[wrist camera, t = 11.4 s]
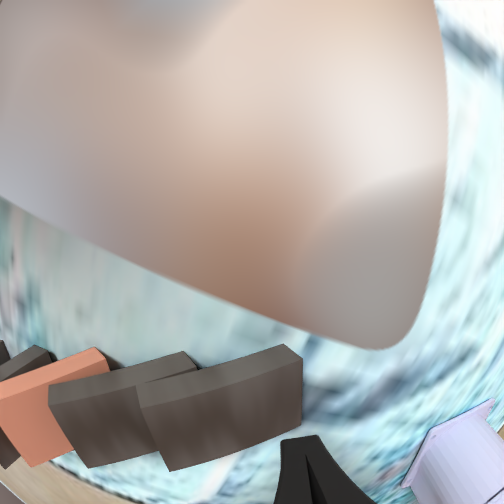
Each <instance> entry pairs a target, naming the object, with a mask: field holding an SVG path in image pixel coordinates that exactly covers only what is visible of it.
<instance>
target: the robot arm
mask: <svg viewBox="0 0 504 504" xmlns="http://www.w3.org/2000/svg"><path fill="white" fill-rule="evenodd" d="M494 403H495V399H494V398H491V399H489V400H487V401H486V402H484V403H482V404H480V405H479V406H477V407H475V408H473V409H471V410H469V411H467V412H465V413H463V414H461V415H459V416H457V417H455V418H453V419H451V420H449V421H447V422H444V423H442V424H440V425H438V426H435V427H433V428H432V429H431V430H430V431H429V432H428V434H427V436H426V438H425V441H424V443H423V445H422V447H421V449H420V451H419V453H418V455H417V457H416V459H415V460H414V462H413V464H412V466H411V468H410V470H409V471H408V473H407V475H406V477H405V478H404V480H403V482H402V483H401V485H400V486H401V488H405V487H408V486H410V487H411V489H412V491H413V493H414V494H415V496H416V498H417V500H418V502H419V504H504V440H503V439H502V438H501V437H500V436H499V435H498V434H497V433H496V431H495V430H494V429H493V428H492V427H491V426H490V425H489V424H488V423H487V421H486V419H487V417H488V415H489V413H490V411H491V409H492V407H493V405H494ZM280 449H281V471H280V477H279V483H278V488H277V492H276V496H275V500H274V503H273V504H377V503H375V502H374V501H373V500H372V499H371V498H369V497H368V496H367V495H366V494H365V493H364V492H363V491H362V490H361V489H360V488H359V487H358V486H357V485H356V484H355V483H354V482H353V481H352V480H351V479H350V478H349V477H348V476H347V475H346V474H345V472H344V471H343V470H342V469H341V468H340V467H339V465H338V464H337V463H336V462H335V460H334V459H333V458H332V456H331V455H330V453H329V452H328V451H327V449H326V448H325V446H324V444H323V443H322V441H321V439H320V438H319V436H317V435H312V436H305V437H299V438H292V439H284V440H282V441H281V442H280Z"/></svg>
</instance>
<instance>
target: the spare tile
mask: <svg viewBox="0 0 504 504" xmlns="http://www.w3.org/2000/svg"><path fill="white" fill-rule="evenodd" d="M106 372H110V369H109V366H108V364H107V361H106V358H105V357H104V356H103V355H102V354H101V353H100V352H99V351H98V350H97V349H96V348H95V347H93V348H90V349H88V350H85V351H83V352H80V353H77V354H75V355H72V356H70V357H67V358H64V359H62V360H59V361H57V362H54V363H51V364H49V365H46V366H43V367H41V368H38V369H35V370H33V371H30V372H27V373H24V374H22V375H19V376H16V377H13V378H11V379H8V380H5V381H2V382H0V427H1V428H2V430H3V431H4V433H5V434H6V435H7V437H8V438H9V440H10V441H11V443H12V444H13V445H14V447H15V448H16V449H17V451H18V452H19V453H20V455H21V456H22V457H23V458H24V460H25V461H26V462H27V463H28V465H29V466H30V467H34V466H36V465H39V464H41V463H44V462H46V461H49V460H51V459H54V458H56V457H58V456H61V455H63V454H65V453H68V452H70V451H72V450H74V448H73V447H72V445H71V444H70V442H69V441H68V439H67V438H66V436H65V434H64V433H63V431H62V429H61V428H60V426H59V424H58V423H57V421H56V419H55V418H54V416H53V414H52V412H51V410H50V409H49V407H48V387H49V385H52V384H57V383H62V382H67V381H71V380H76V379H80V378H85V377H89V376H93V375H98V374H102V373H106Z"/></svg>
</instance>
